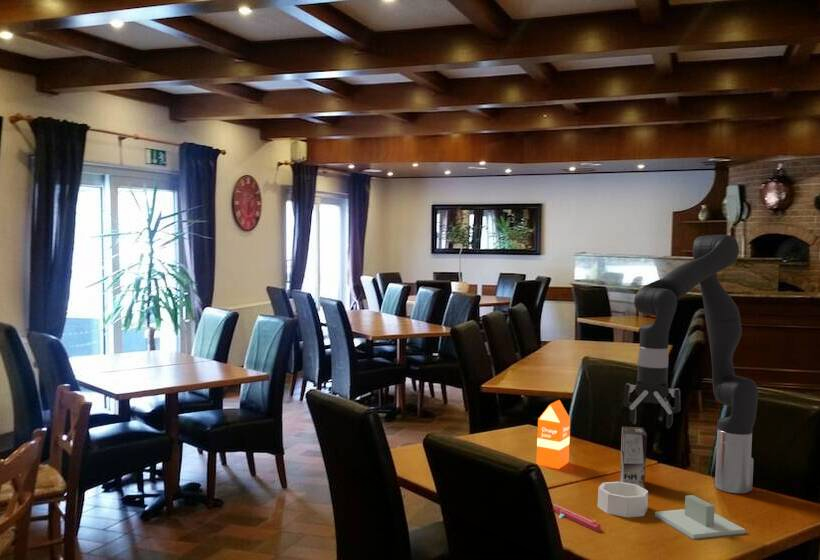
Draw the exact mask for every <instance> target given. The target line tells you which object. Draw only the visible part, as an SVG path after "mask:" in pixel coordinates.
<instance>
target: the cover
mask: <svg viewBox="0 0 820 560" xmlns="http://www.w3.org/2000/svg"><path fill="white" fill-rule="evenodd" d="M684 499H685V501H684V508H683V509H671V510H670V509H669V510H662V511H659V510H658V511H655V512H654V515H655V516H657V517H658V518H660V519H661V520H663V521H665V522H666V523H668V524H670V525H671V526H673V527H675V528H676V529H678V530H680V531H681V532H683V533H685V534H686V535H688V536H690V537H691V538H693V539H695V538H704V537H713V536H723V535H732V534H742V533H746V529H745V528H743V527H741V526H740V525H738V524H736V523H734V522H732V521H730V520H728V519H727V518H724V517H723V516H721V515H719V514H717V513H716V512H715V509H716V505H714V504H712V503H709V502H707V501H706V500H704V499H702V498H700V497H698V496H697V495H694V494H692V495H689V494H688V495H685V497H684ZM658 518H657V519H658ZM661 520H660V521H661ZM663 521H662V522H663ZM666 523H665V524H666ZM671 526H670V527H671ZM676 529H675V530H676ZM681 532H680V533H681ZM686 535H685V536H686ZM691 538H690V539H691Z"/></svg>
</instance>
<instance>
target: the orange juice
mask: <svg viewBox="0 0 820 560" xmlns="http://www.w3.org/2000/svg"><path fill="white" fill-rule="evenodd" d="M570 438H571V417H570V416H569V414H568V413H567V410H566V409H565V407H564V404H563V403H562V401H561V400H560V399H558V400H555V401H554V402H552V403H550V404H549V405H548V406H547V407H546V409H545V410H544V411H543V412H542V414H541V415H540V416H539V417H538V418H537V437H536V461H535V462H536V464H538V466H542V467H545V468H546V467H547V468H552V469H557V470H560V469H561V468H562V467H564V466H565V465H567V464H568V463H569V459H570V440H571V439H570Z"/></svg>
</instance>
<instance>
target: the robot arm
mask: <svg viewBox="0 0 820 560" xmlns="http://www.w3.org/2000/svg"><path fill="white" fill-rule="evenodd" d="M739 253H740V247H739V244H738V241H737V239H736V237H733V235H730V234H711V235H701V236H700V235H699V236H698V237H695V239H694V241H693V244H692V257H693V258H692V259H693V260H691V261H688V262H685V263H683V264H680V265H679V266H676V267H675V268H673V269H672V270H671V271H670V272H668V273H667V274H666V275H665V276H664V277H662V278H661V279H657V280H654V281H652V282H650V283H648V284H646V285H644V286H642V287H640V288H639V290H638V291H637V292H636V294H635V295H634V301H633V304H634V307H635V309H636V310H637V311H638V312H639V313H641V314H644V315H649V316H650V315H652V316H655V319H654V321H653V323H645V324H643V325H641V326H640V332H639V350H638V357H637V358H638V359H637V379H636V384H631V383H630V382H627V383H626V384H625V385H624V388H623V397H622V398H623V399H622V406H623V407H624V408H625V407H626V408H627V409H629V422H631V424H632V425H636V424H637V407H638V405H639V404H640V403H641V402H643V403H647V404H649V403H652V404H655V405H658V404H660V405H661V407H662V408H663V409H664V410H665V412H666V416H665V417H666V418H665V428H666V429H670V428H671V427H672V425H673V421H674V414H679V413H680V412H681V410H682V409H681V407H682V406H681V389H680V388H678V387H677V388H676V387H675V388H669V385H668V381H669V333H670V329H671V325H672V322H673V320H674V316H675V314H676V311H677V307H678V300H680V299H681V298H683V297H685V296H686V295H687V294H688V293H689V292H690V291H691V290H693V289H694V288H695V287H696V286H698V285H699V286H700V291H701V296H702V302H703V303H702V304H703V310H704V317H705V323H706V331H707V335H708V341H709V342H708V343H709V349H710V357H711V374H712V377H711V378H712V390H713V391H712V392H713V394H714V397H715V399H716V401H717V402H718V403H719V404H721V405H724V406H727V407H731V410H730V412H731V413H730V415H729V416H727V417H726V416H725V417H721V418H719V419H718V421H717V432H716V433H717V435H716V452H715V453H716V457H715V472H714V473H715V475H714V487H715V488H716V489H718V490H720V491H723V492H726V493H731V494H747V493H749V492H751V491H753V479H754V476H753V475H754V458H753V457H752V442H753V429H754V425H755V423H756V420H757V419H756V418H757V410H758V402H759V401H758V400H759V388H758V386H757V384H756V382H755V381H754V380H753V379H751V378H749V377H744V376H740V375H736V373H735V370H734V369H735V368H734V361H733V358H734V353H735V351H736V348H737V346H738V344H739V342H740V340H741V337H742V334H743V328H742V327H743V326H742V321H741V319H742V318H741V315H740V314H741V313H740V310H739V307H738V305H737V304H736V302H735V301H734V299H733V298H732V297H731V296H730V293H728V292H727V291H726V289H725V288H724V287H723V285H722V284H721V282H720V280H719V278H718V274H717V273H719V272H721V271H723V270H725V269H728V268H729V267H731V266H733V264H735V263H736V261H737V259H738V257H739V255H740V254H739ZM634 390H635V392H636V394H637V395H638V397H637V398H636V399H635V400H634V401H633V402H630V395H631V393H632V392H633V391H634ZM668 394H670V395H671V397H672V398H674V400H673V401H674V406H673V407H672V406H671V404H670V403H669V400H668V399H667V398H666V397H667V396H668Z"/></svg>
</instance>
